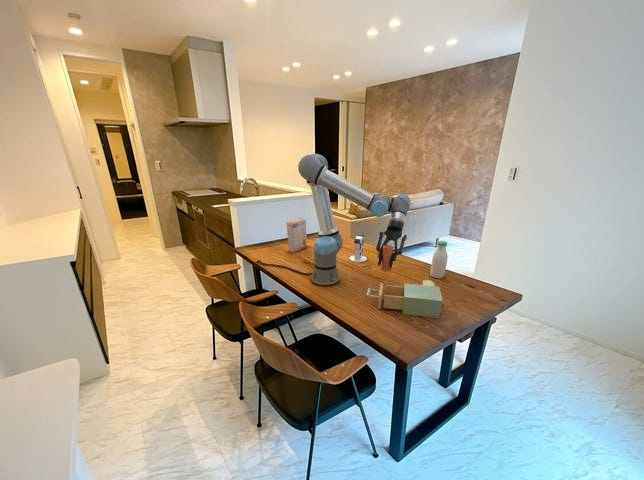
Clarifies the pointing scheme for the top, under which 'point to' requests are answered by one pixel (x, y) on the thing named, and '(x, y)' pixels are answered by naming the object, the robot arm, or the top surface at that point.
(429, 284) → the stacked layers on plate
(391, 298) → the drawer
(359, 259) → the white post on base
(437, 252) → the milk bottle
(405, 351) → the top surface
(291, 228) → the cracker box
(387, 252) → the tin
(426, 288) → the cabinet
